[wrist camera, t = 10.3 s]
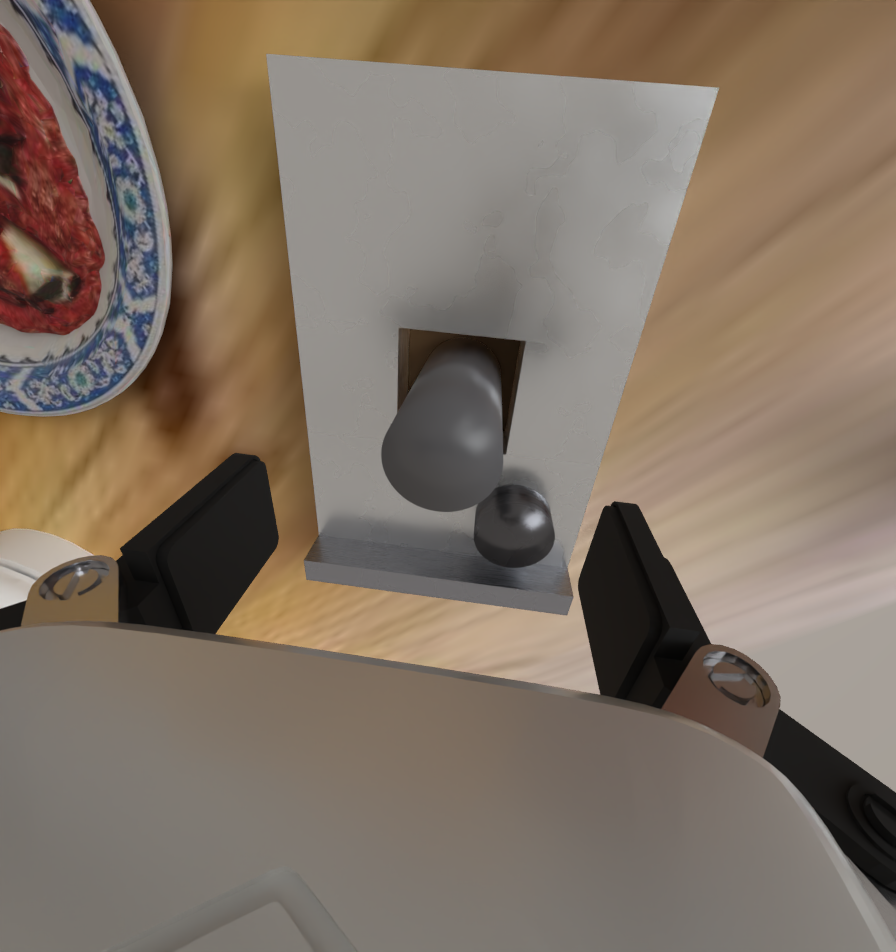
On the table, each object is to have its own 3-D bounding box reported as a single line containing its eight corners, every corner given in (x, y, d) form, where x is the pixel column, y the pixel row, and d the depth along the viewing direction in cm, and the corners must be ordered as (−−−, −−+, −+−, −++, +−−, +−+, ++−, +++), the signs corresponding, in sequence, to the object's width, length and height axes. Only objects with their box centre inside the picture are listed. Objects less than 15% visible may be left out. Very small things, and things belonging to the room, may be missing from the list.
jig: (300, 80, 17) (228, 24, 13) (684, 110, 16) (757, 62, 12) (336, 525, 30) (306, 579, 25) (555, 554, 29) (566, 615, 24)
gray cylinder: (425, 333, 22) (380, 396, 14) (506, 341, 22) (512, 411, 13) (422, 409, 24) (381, 504, 16) (495, 417, 24) (494, 518, 16)
